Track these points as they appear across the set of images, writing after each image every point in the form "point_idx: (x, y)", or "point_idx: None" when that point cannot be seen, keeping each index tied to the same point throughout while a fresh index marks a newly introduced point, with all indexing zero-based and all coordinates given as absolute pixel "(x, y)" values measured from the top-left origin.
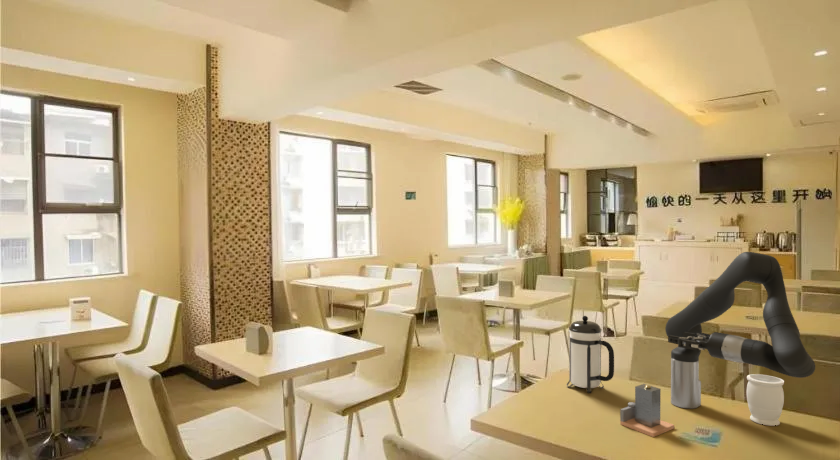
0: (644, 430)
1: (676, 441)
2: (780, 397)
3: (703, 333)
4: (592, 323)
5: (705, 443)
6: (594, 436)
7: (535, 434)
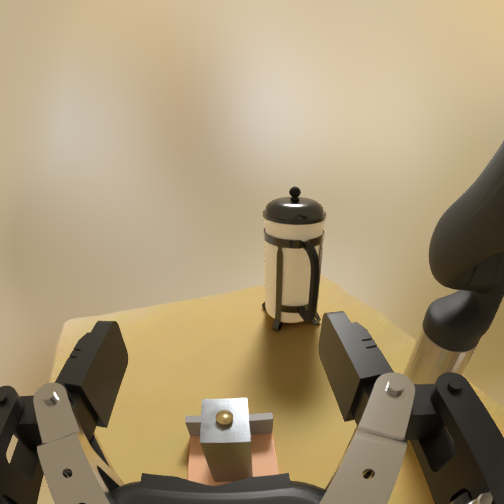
0: (188, 479)
1: None
2: None
3: (456, 390)
4: (301, 203)
5: None
6: (101, 430)
7: (57, 374)
